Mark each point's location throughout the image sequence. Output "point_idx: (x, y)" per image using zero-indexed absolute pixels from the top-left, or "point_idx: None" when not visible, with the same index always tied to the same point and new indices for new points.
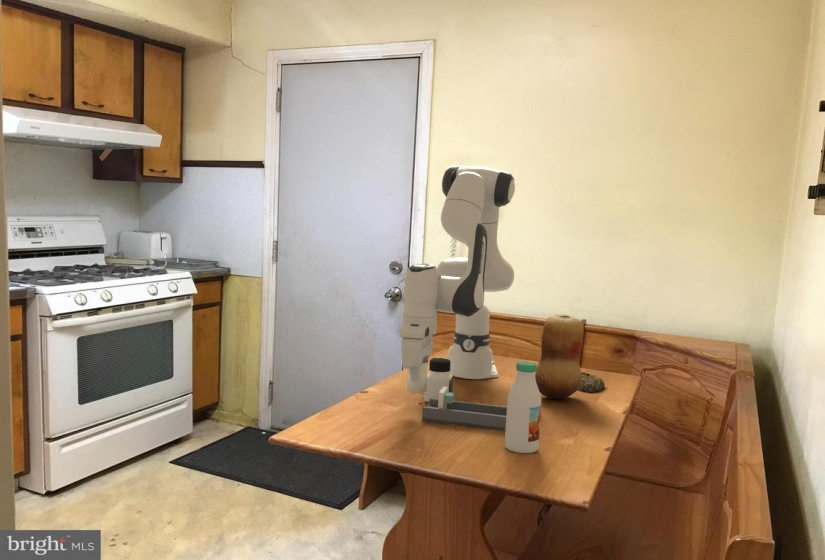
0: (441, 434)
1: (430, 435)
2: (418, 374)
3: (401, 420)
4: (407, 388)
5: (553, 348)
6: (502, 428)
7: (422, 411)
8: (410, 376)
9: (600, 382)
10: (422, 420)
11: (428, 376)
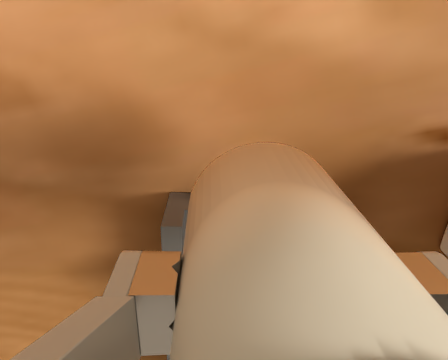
0: (50, 280)
1: (15, 250)
2: (169, 354)
3: (140, 102)
4: (222, 161)
5: None
6: None
7: (164, 214)
8: (194, 251)
9: None
10: (170, 194)
11: None
